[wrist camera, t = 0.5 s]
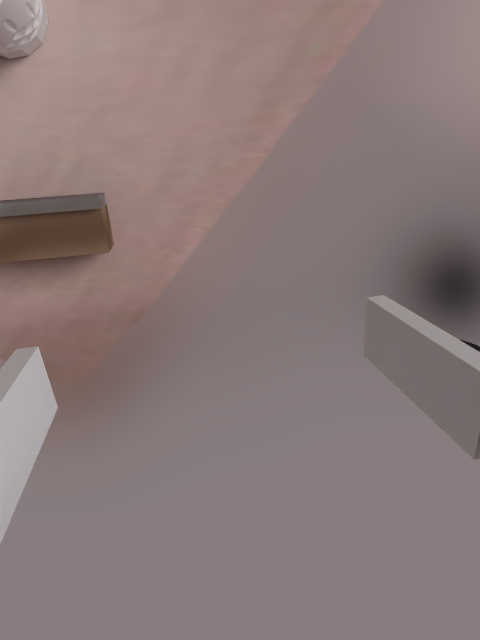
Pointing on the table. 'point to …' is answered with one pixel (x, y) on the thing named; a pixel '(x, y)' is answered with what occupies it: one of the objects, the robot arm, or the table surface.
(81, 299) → the table surface
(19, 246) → the block
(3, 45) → the white cup
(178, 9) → the table surface
